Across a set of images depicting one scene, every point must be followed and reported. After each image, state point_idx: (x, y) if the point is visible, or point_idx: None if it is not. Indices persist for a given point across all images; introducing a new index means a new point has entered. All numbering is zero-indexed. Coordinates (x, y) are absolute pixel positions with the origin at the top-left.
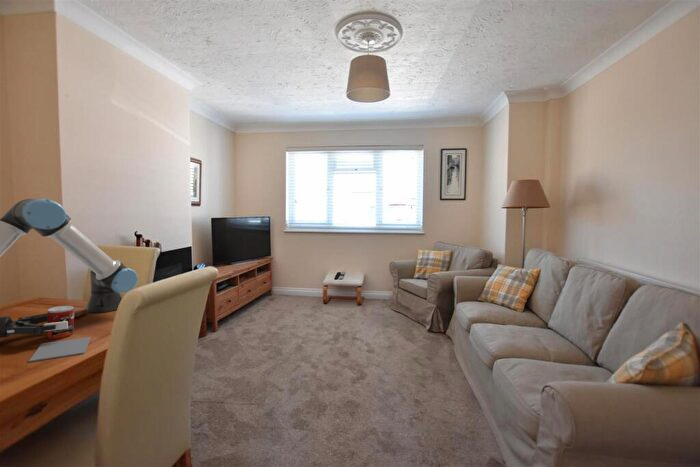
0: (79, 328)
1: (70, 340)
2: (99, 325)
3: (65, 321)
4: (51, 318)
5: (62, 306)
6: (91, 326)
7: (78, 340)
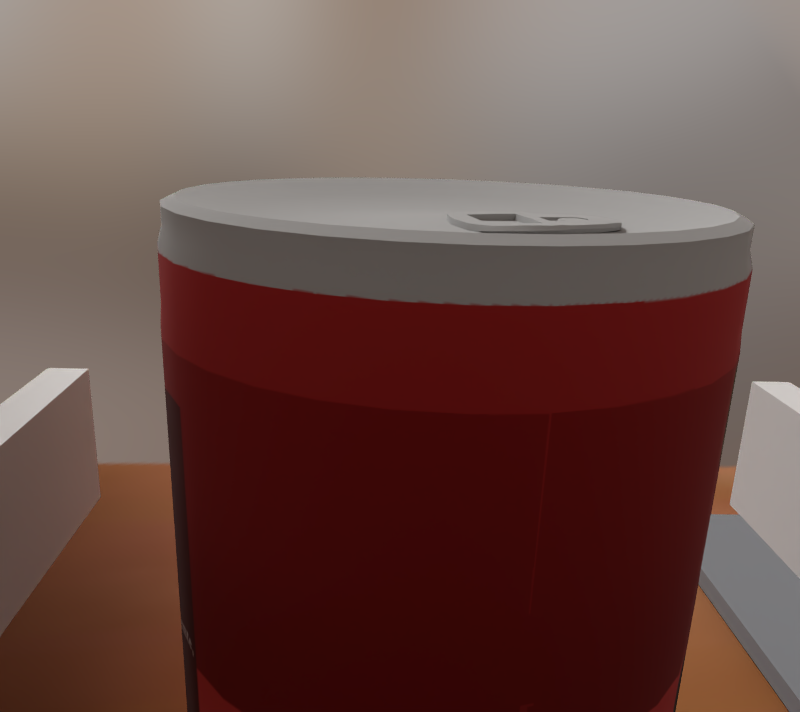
0: (117, 637)
1: (791, 634)
2: (156, 503)
3: (773, 394)
4: (721, 448)
5: (212, 200)
6: (132, 549)
7: (786, 575)
